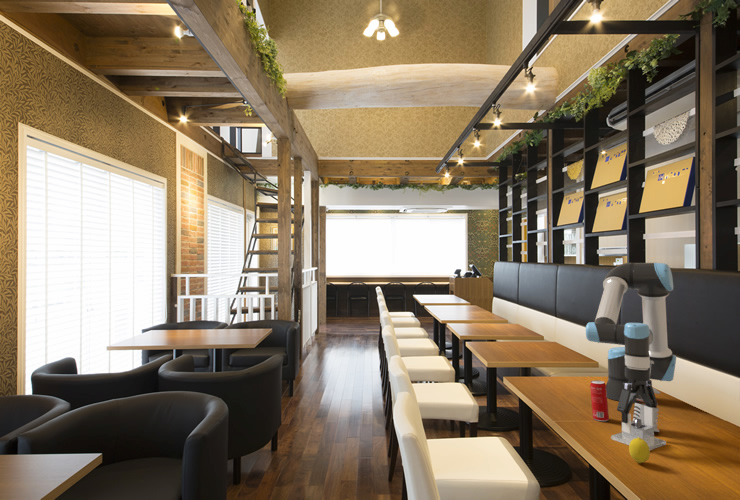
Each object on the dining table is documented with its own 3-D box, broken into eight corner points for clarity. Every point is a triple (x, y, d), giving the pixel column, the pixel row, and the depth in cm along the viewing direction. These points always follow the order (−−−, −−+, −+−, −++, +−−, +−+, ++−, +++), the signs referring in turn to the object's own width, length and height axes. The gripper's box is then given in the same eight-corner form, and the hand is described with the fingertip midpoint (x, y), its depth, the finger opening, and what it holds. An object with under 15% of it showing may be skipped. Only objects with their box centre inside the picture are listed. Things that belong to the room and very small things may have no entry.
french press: (655, 428, 168) (661, 362, 172) (665, 434, 157) (672, 364, 161) (626, 421, 171) (633, 357, 175) (634, 427, 160) (642, 357, 164)
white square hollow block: (633, 433, 159) (633, 420, 159) (654, 439, 153) (653, 426, 153) (622, 436, 155) (622, 423, 156) (642, 443, 149) (642, 430, 149)
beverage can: (611, 422, 173) (611, 383, 174) (594, 421, 174) (594, 383, 174) (604, 417, 179) (604, 379, 179) (588, 416, 180) (587, 379, 180)
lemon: (625, 459, 140) (624, 434, 140) (641, 459, 140) (641, 433, 141) (637, 467, 134) (636, 441, 135) (654, 467, 135) (653, 440, 135)
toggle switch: (630, 432, 162) (630, 411, 163) (665, 444, 152) (665, 422, 152) (611, 438, 156) (611, 417, 157) (646, 451, 146) (646, 428, 146)
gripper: (646, 362, 164) (646, 419, 163) (605, 368, 152) (605, 431, 151) (667, 366, 158) (668, 426, 157) (626, 373, 145) (627, 438, 145)
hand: (637, 428), depth 154 cm, fingers open, 13 cm apart
